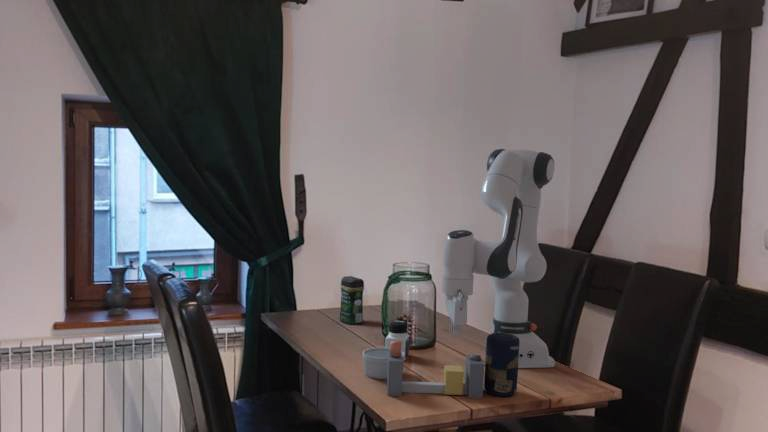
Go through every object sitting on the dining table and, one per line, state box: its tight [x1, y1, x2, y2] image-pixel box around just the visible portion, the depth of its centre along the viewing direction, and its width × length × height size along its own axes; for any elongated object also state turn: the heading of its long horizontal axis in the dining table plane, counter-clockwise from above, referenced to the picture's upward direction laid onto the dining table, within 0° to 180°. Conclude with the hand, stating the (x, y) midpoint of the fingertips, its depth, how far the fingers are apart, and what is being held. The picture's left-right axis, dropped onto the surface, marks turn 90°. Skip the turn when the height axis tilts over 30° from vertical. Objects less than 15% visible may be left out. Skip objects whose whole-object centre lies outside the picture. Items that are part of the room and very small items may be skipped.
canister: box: [483, 332, 520, 397], centre depth 206 cm, size 10×10×18 cm
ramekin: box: [362, 347, 405, 380], centre depth 220 cm, size 13×13×7 cm
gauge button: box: [390, 340, 402, 357], centre depth 204 cm, size 3×3×4 cm
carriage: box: [442, 365, 465, 396], centre depth 205 cm, size 5×6×7 cm
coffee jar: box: [339, 275, 365, 325], centre depth 287 cm, size 10×8×19 cm
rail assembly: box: [386, 352, 485, 399], centre depth 205 cm, size 27×9×11 cm, turn 91°
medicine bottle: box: [384, 320, 411, 361], centre depth 240 cm, size 7×7×12 cm
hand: (455, 334), depth 204 cm, fingers closed
